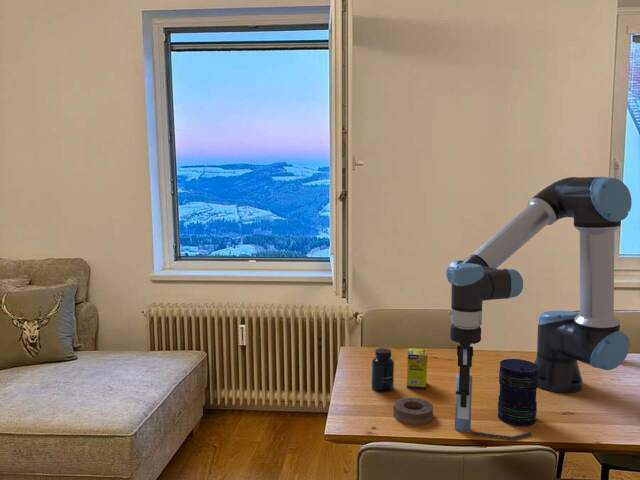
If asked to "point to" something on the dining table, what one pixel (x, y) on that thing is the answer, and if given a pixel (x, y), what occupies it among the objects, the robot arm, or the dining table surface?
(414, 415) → the bead
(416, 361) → the supplement box
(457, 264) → the robot arm
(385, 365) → the supplement bottle
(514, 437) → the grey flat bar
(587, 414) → the dining table surface
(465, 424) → the round-tipped blue peg
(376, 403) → the dining table surface
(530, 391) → the storage jar
